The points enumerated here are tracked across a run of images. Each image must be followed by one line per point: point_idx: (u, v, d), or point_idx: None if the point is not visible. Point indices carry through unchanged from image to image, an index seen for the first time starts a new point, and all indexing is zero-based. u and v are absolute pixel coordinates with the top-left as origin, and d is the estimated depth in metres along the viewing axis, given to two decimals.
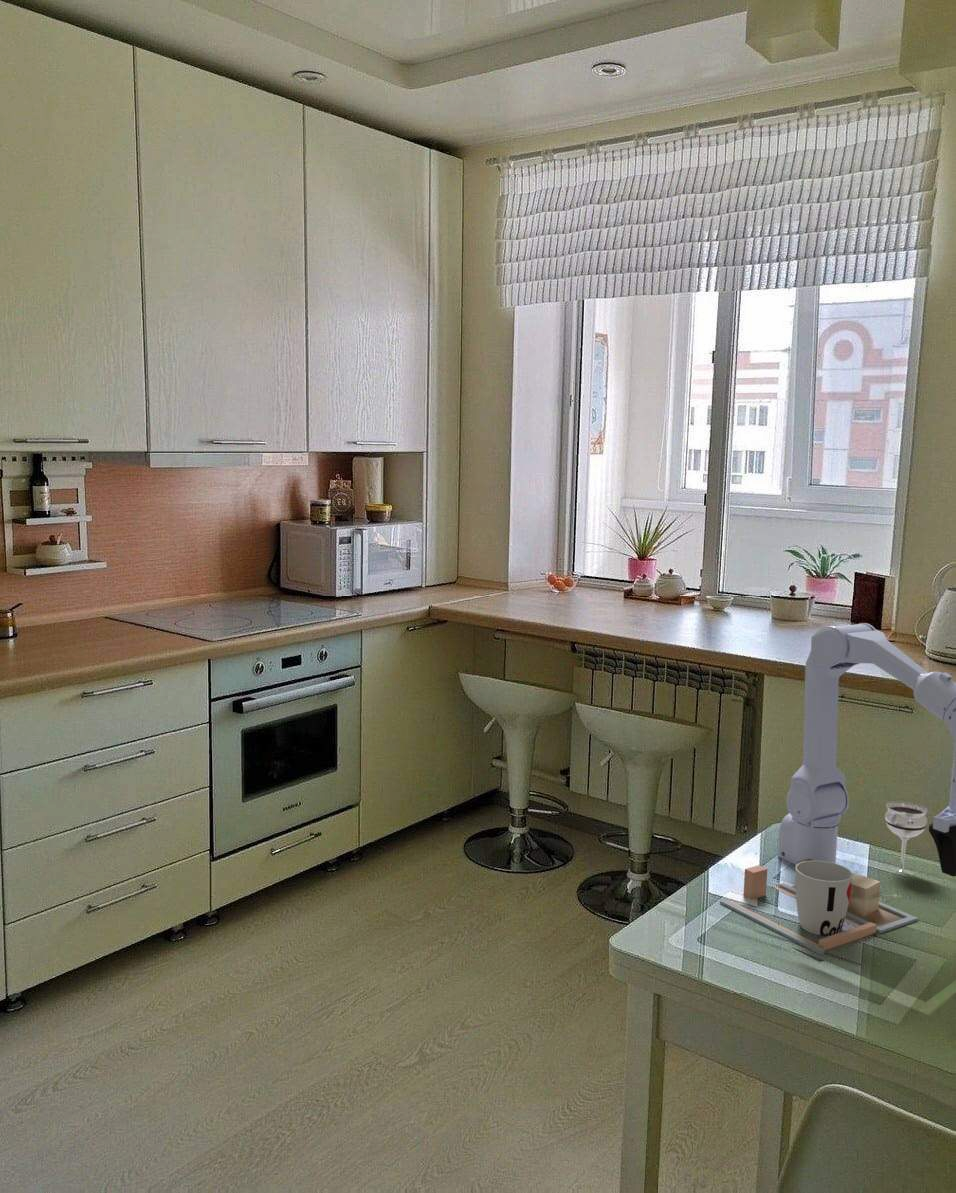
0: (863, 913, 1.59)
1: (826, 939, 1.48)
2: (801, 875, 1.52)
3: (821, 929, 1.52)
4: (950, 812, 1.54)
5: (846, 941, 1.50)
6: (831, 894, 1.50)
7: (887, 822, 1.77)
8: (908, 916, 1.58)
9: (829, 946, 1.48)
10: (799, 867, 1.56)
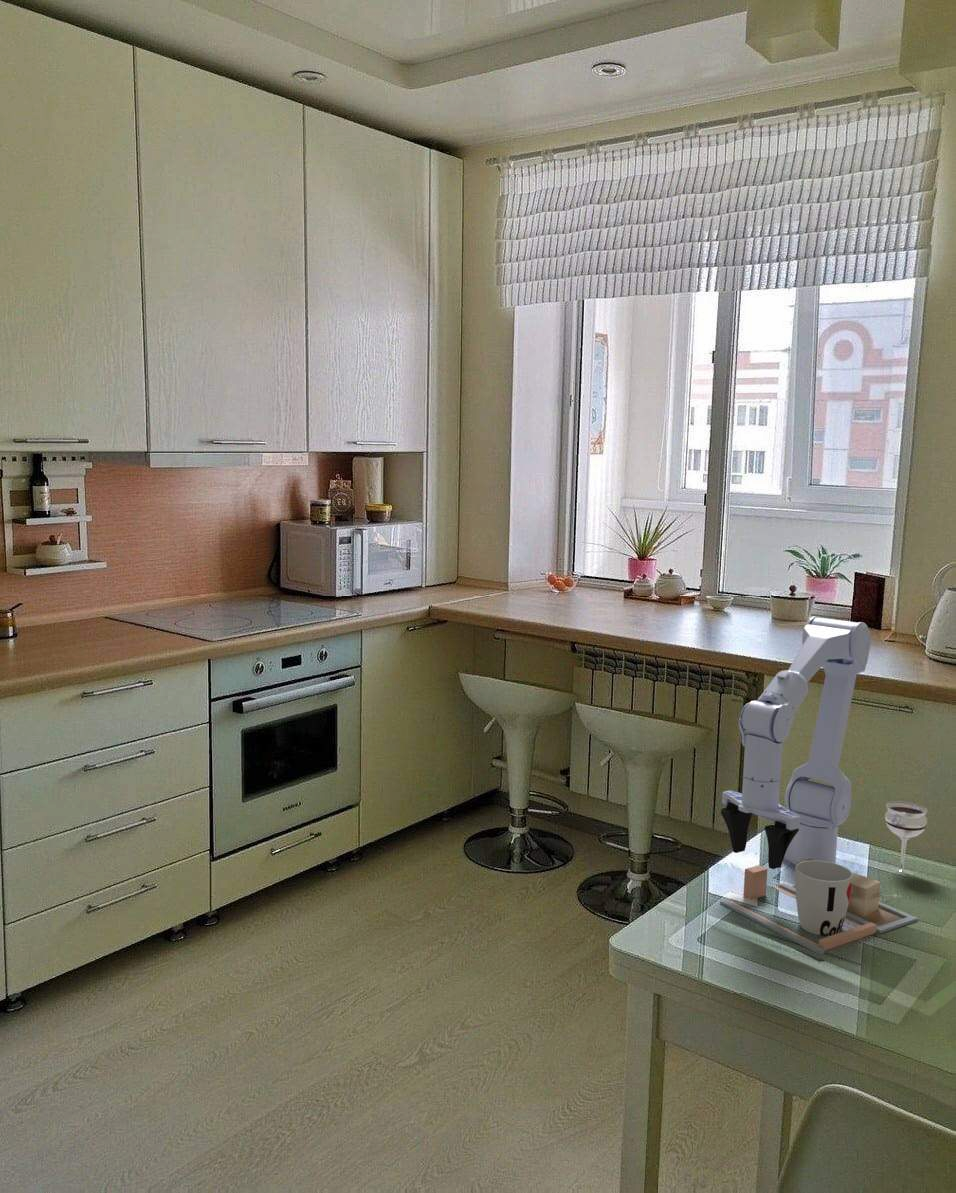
0: (863, 913, 1.59)
1: (826, 939, 1.48)
2: (801, 875, 1.52)
3: (821, 929, 1.52)
4: None
5: (846, 941, 1.50)
6: (831, 894, 1.50)
7: (887, 822, 1.77)
8: (908, 916, 1.58)
9: (829, 946, 1.48)
10: (799, 867, 1.56)
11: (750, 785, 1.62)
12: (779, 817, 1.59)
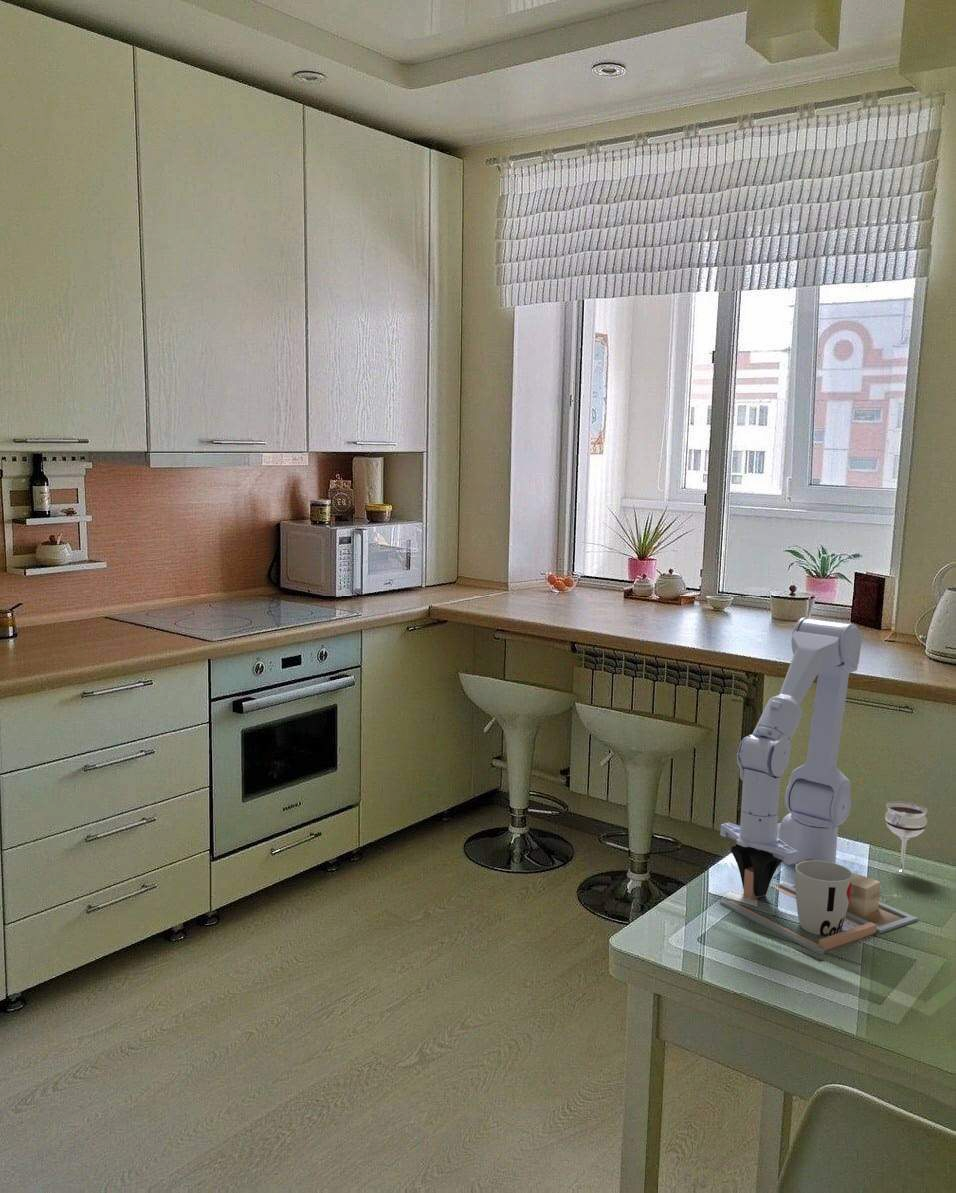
0: (863, 913, 1.59)
1: (826, 939, 1.48)
2: (801, 875, 1.52)
3: (821, 929, 1.52)
4: None
5: (846, 941, 1.50)
6: (831, 894, 1.50)
7: (887, 822, 1.77)
8: (908, 916, 1.58)
9: (829, 946, 1.48)
10: (799, 867, 1.56)
11: (748, 819, 1.62)
12: (777, 851, 1.60)
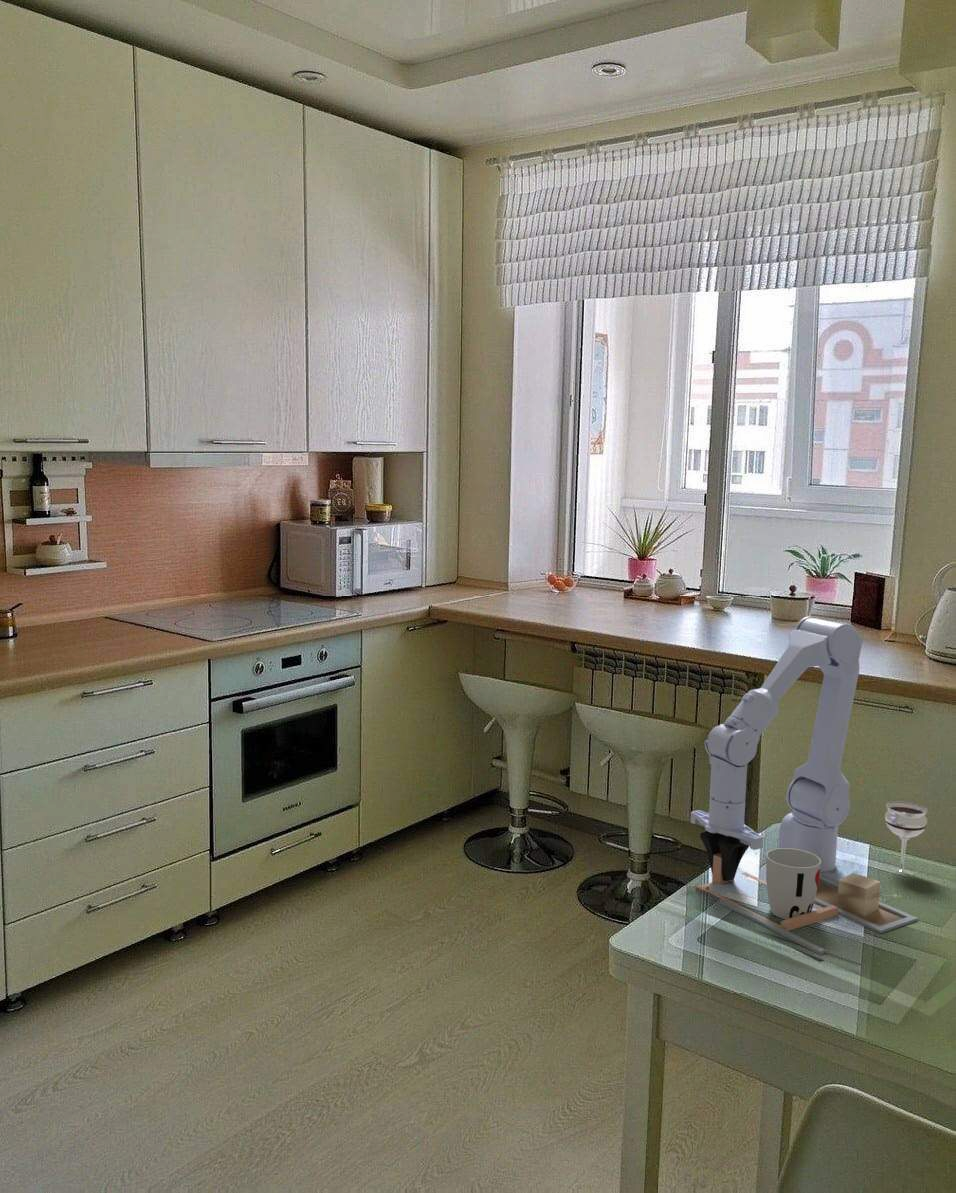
0: (863, 913, 1.59)
1: (788, 920, 1.54)
2: (771, 862, 1.57)
3: (790, 915, 1.57)
4: None
5: (808, 923, 1.56)
6: (800, 880, 1.55)
7: (887, 822, 1.77)
8: (908, 916, 1.58)
9: (791, 927, 1.54)
10: (769, 854, 1.61)
11: (716, 806, 1.68)
12: (743, 837, 1.65)
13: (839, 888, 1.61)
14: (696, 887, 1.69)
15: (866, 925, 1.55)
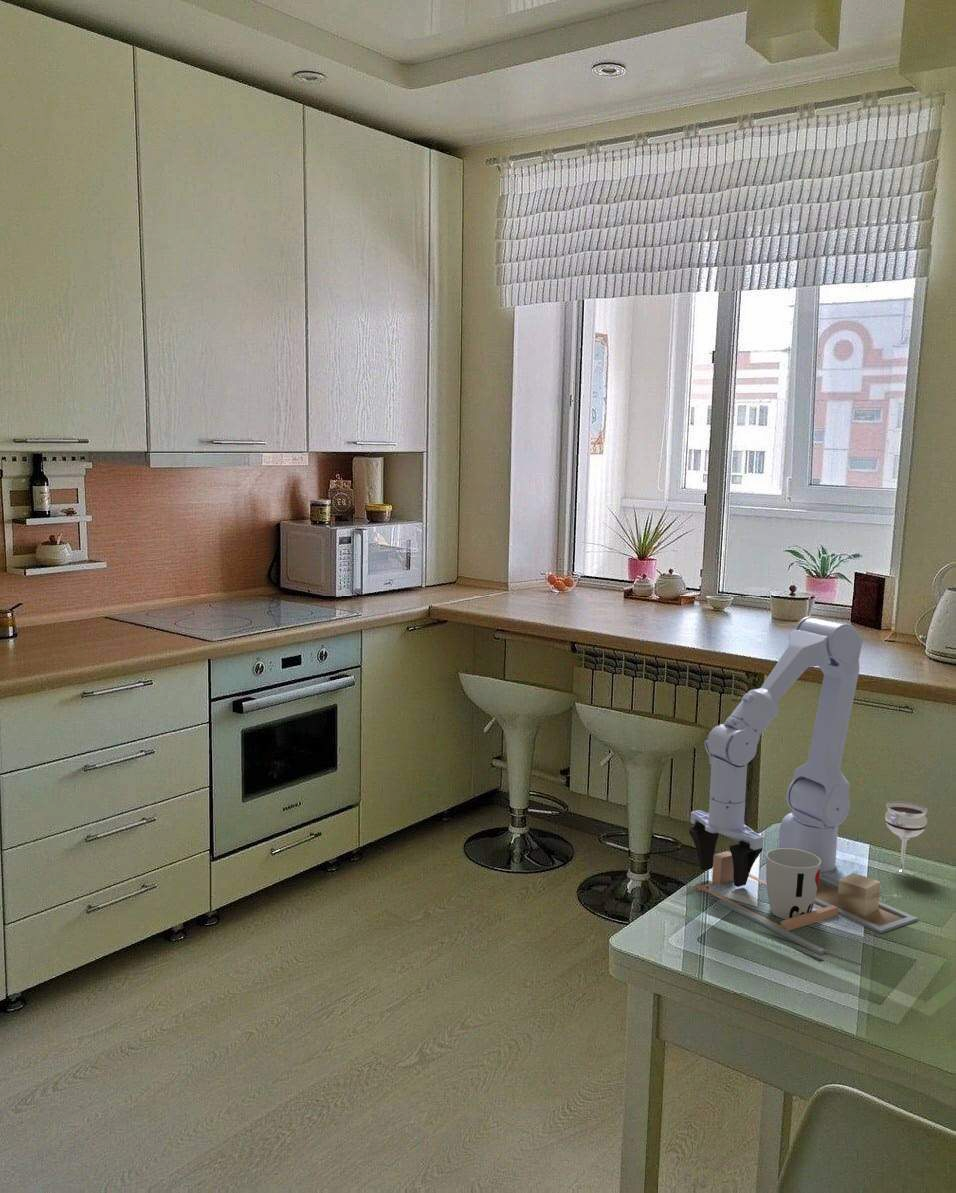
0: (863, 913, 1.59)
1: (788, 920, 1.54)
2: (771, 862, 1.57)
3: (790, 915, 1.57)
4: None
5: (808, 923, 1.56)
6: (800, 880, 1.55)
7: (887, 822, 1.77)
8: (908, 916, 1.58)
9: (791, 927, 1.54)
10: (769, 854, 1.61)
11: (716, 806, 1.68)
12: (743, 837, 1.66)
13: (839, 888, 1.61)
14: (696, 887, 1.69)
15: (866, 925, 1.55)
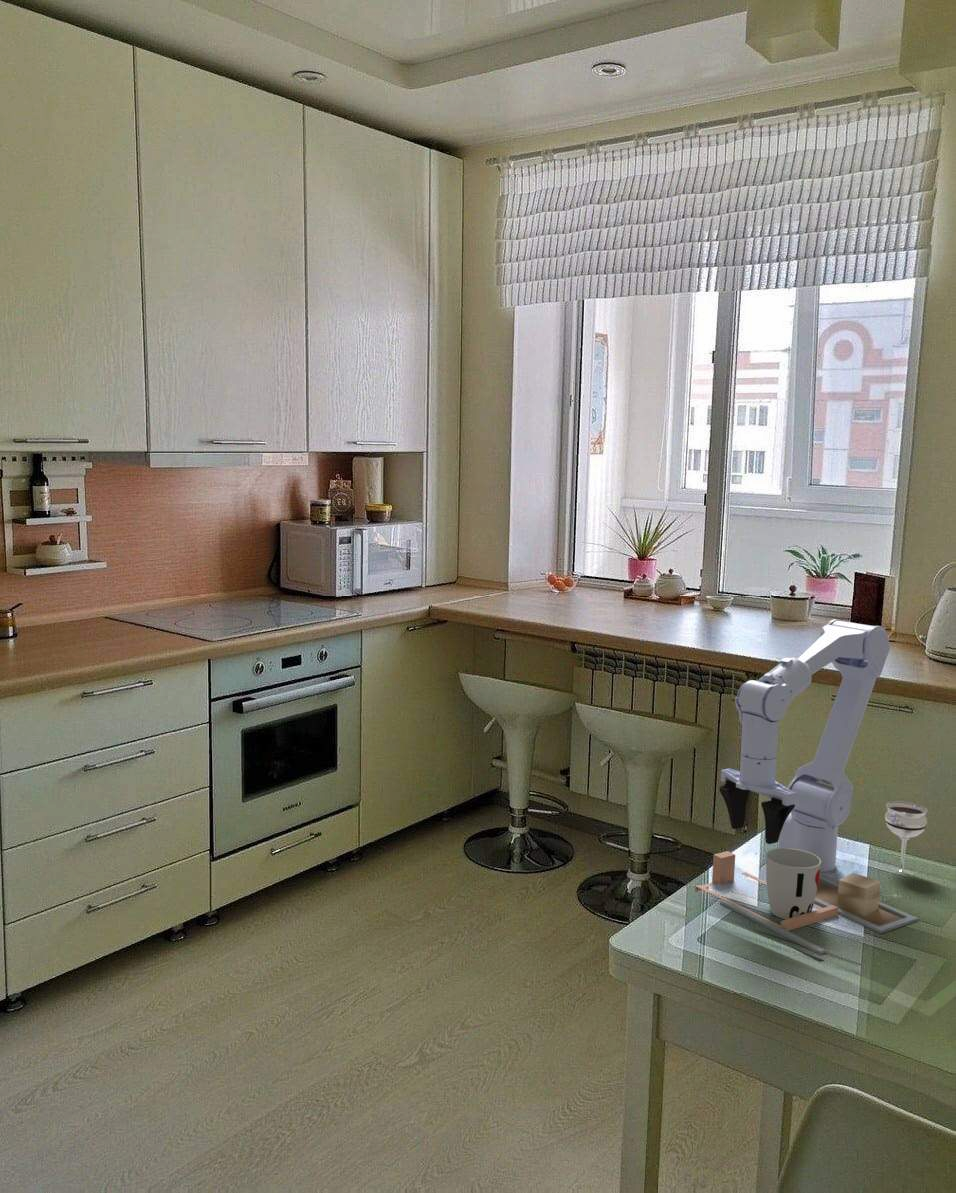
0: (863, 913, 1.59)
1: (788, 920, 1.54)
2: (771, 862, 1.57)
3: (790, 915, 1.57)
4: None
5: (808, 923, 1.56)
6: (800, 880, 1.55)
7: (887, 822, 1.77)
8: (908, 916, 1.58)
9: (791, 927, 1.54)
10: (769, 854, 1.61)
11: (747, 762, 1.66)
12: (775, 793, 1.63)
13: (839, 888, 1.61)
14: (696, 887, 1.69)
15: (866, 925, 1.55)
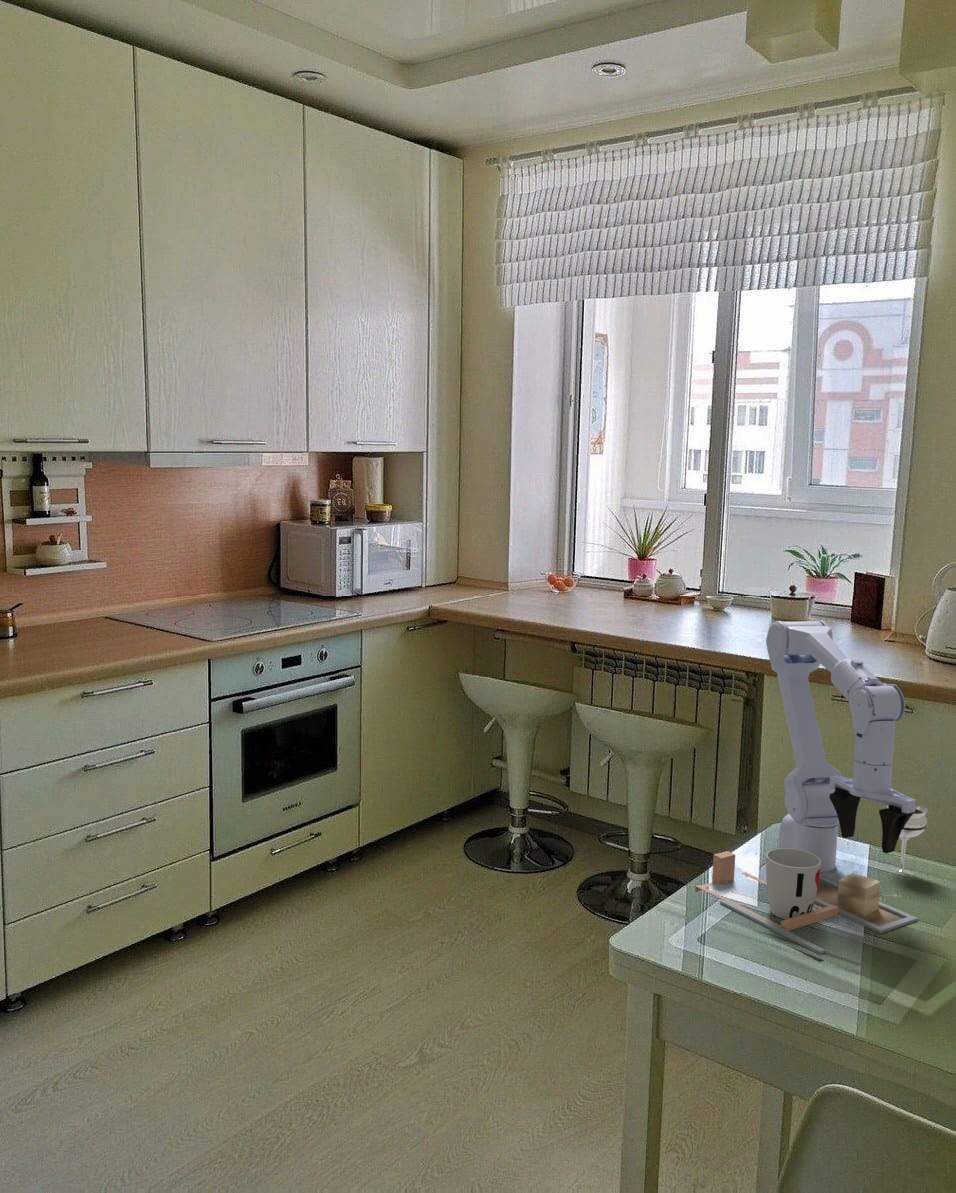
0: (863, 913, 1.59)
1: (788, 920, 1.54)
2: (771, 862, 1.57)
3: (790, 915, 1.57)
4: None
5: (808, 923, 1.56)
6: (800, 880, 1.55)
7: None
8: (908, 916, 1.58)
9: (791, 927, 1.54)
10: (769, 854, 1.61)
11: (863, 769, 1.61)
12: (894, 800, 1.58)
13: (839, 888, 1.61)
14: (696, 887, 1.69)
15: (866, 925, 1.55)
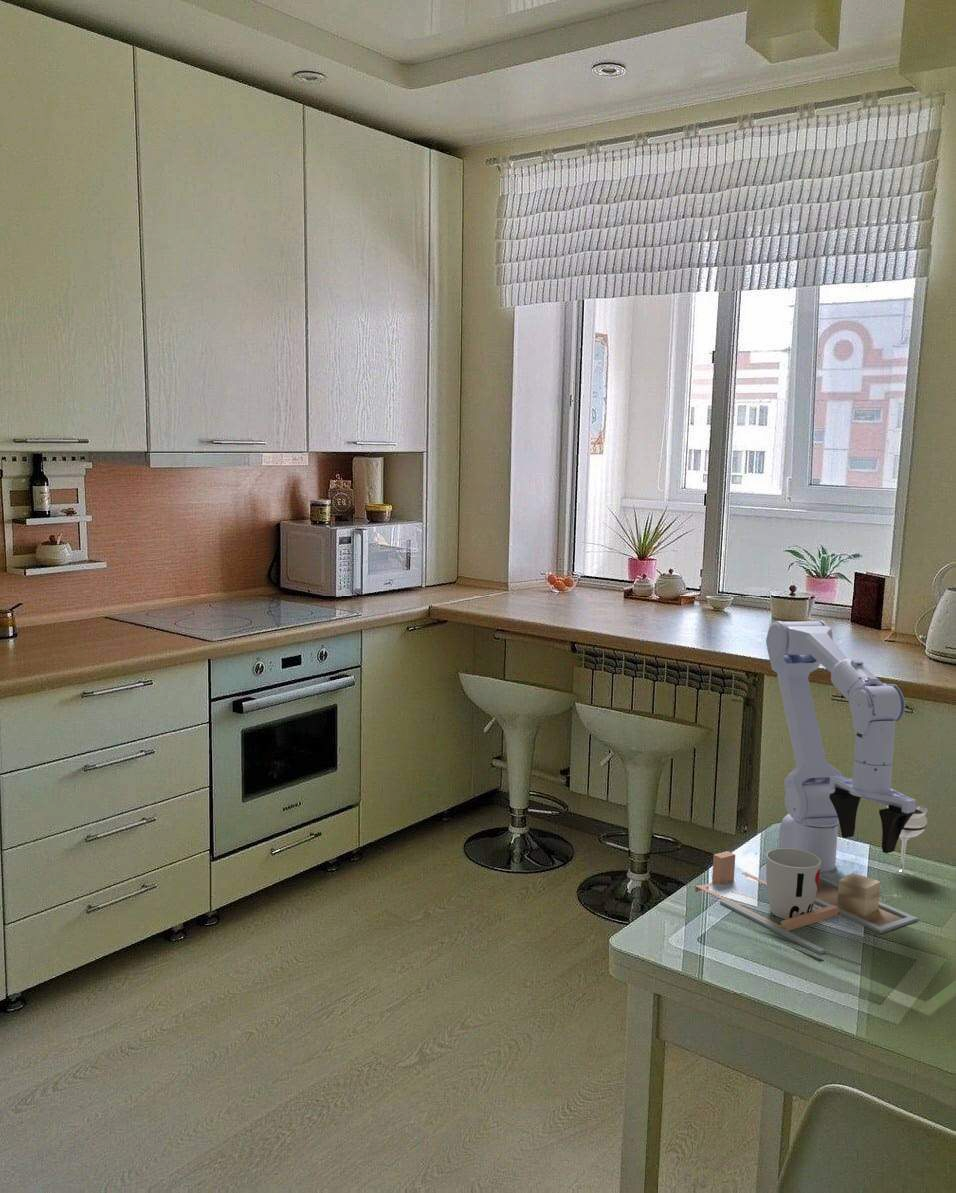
0: (863, 913, 1.59)
1: (788, 920, 1.54)
2: (771, 862, 1.57)
3: (790, 915, 1.57)
4: None
5: (808, 923, 1.56)
6: (800, 880, 1.55)
7: None
8: (908, 916, 1.58)
9: (791, 927, 1.54)
10: (769, 854, 1.61)
11: (863, 769, 1.61)
12: (894, 800, 1.58)
13: (839, 888, 1.61)
14: (696, 887, 1.69)
15: (866, 925, 1.55)
